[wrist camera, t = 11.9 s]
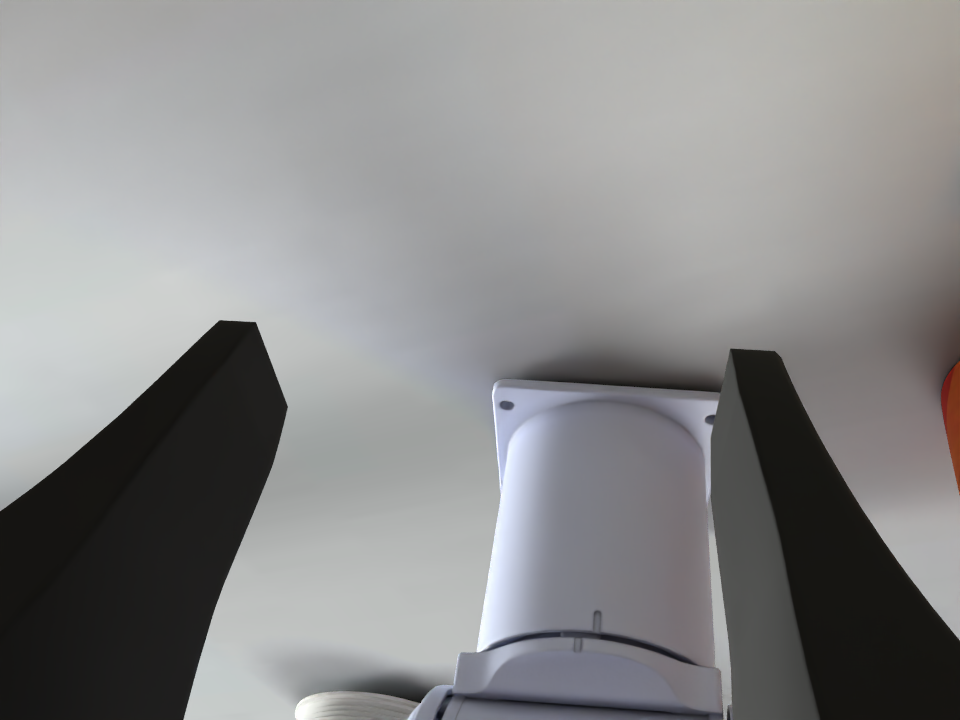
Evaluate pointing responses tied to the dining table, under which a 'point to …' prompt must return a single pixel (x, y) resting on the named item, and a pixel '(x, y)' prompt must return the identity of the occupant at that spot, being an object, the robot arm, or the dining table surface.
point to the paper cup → (952, 416)
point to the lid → (353, 706)
